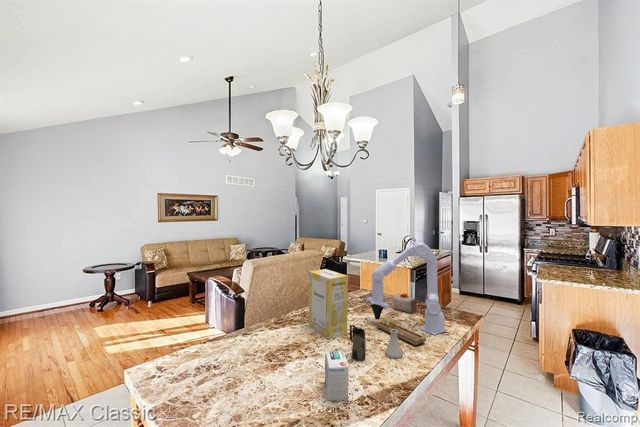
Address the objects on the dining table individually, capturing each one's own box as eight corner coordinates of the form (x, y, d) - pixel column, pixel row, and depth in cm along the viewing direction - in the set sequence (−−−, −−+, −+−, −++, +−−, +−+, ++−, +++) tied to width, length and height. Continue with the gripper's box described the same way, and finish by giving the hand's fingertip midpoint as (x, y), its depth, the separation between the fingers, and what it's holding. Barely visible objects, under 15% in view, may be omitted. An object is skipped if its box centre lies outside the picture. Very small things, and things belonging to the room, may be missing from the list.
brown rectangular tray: (386, 325, 151) (386, 319, 151) (426, 343, 131) (426, 336, 131) (375, 328, 146) (375, 322, 146) (414, 347, 126) (414, 341, 126)
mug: (368, 359, 117) (368, 329, 117) (357, 363, 114) (358, 332, 114) (355, 350, 124) (355, 322, 123) (345, 354, 120) (345, 325, 120)
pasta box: (308, 325, 149) (308, 271, 149) (325, 321, 155) (325, 269, 155) (329, 339, 134) (329, 278, 134) (347, 333, 140) (347, 275, 140)
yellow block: (387, 323, 148) (387, 316, 148) (394, 326, 144) (394, 319, 144) (381, 325, 146) (381, 318, 146) (388, 328, 142) (388, 321, 141)
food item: (390, 309, 175) (390, 292, 175) (397, 306, 180) (397, 290, 180) (411, 315, 165) (411, 297, 165) (418, 311, 170) (418, 295, 170)
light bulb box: (324, 381, 102) (324, 350, 102) (343, 380, 102) (343, 350, 102) (327, 401, 91) (328, 367, 91) (349, 400, 92) (349, 366, 92)
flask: (403, 360, 116) (403, 335, 116) (384, 358, 118) (385, 333, 117) (402, 351, 123) (402, 327, 123) (384, 349, 125) (384, 326, 125)
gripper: (362, 290, 154) (362, 315, 155) (382, 297, 142) (382, 325, 143) (372, 288, 158) (371, 313, 159) (392, 295, 146) (392, 322, 146)
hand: (377, 318), depth 151 cm, fingers closed
